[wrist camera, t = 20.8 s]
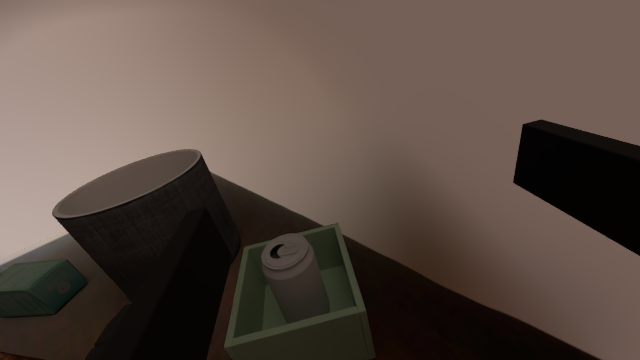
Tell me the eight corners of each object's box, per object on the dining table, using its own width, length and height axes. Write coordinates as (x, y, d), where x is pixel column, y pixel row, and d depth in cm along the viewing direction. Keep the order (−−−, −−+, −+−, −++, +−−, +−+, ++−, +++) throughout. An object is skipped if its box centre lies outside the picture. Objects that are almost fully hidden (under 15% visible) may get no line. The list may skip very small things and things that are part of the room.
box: (55, 315, 47) (25, 288, 43) (1, 319, 49) (-32, 294, 46) (90, 282, 53) (66, 256, 50) (40, 286, 55) (14, 262, 52)
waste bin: (347, 264, 42) (338, 222, 38) (375, 357, 29) (366, 310, 25) (263, 286, 42) (244, 246, 38) (254, 390, 29) (223, 348, 25)
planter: (109, 287, 50) (34, 206, 41) (201, 218, 66) (162, 148, 56) (168, 331, 39) (82, 231, 29) (262, 235, 54) (226, 149, 45)
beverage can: (290, 293, 38) (266, 233, 33) (331, 290, 37) (313, 228, 32) (281, 336, 33) (250, 273, 27) (329, 334, 32) (307, 268, 26)
